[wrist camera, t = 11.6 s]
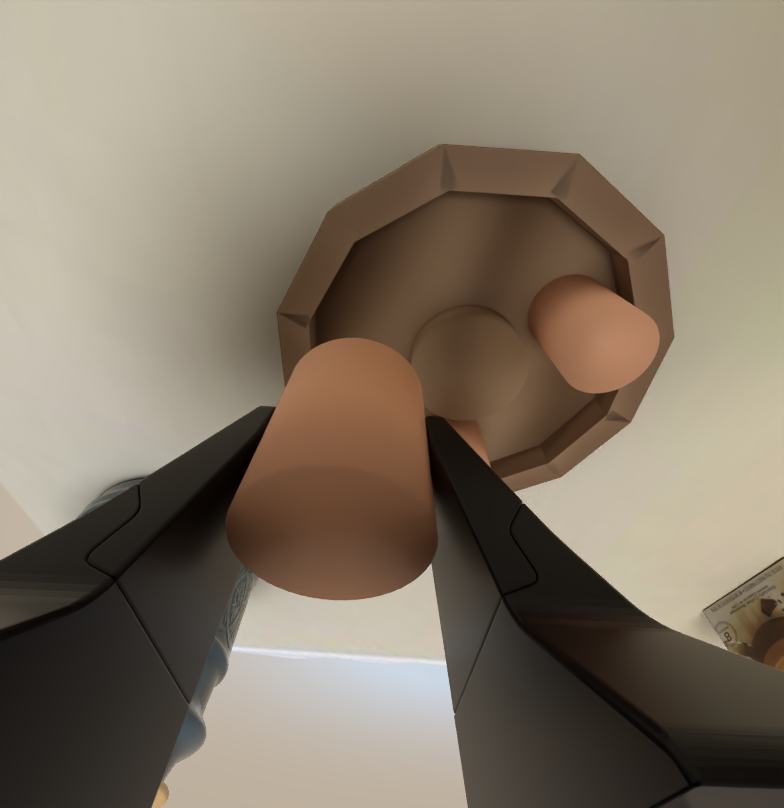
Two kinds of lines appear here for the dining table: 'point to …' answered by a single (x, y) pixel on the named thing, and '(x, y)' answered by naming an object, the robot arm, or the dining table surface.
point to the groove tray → (483, 292)
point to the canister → (214, 666)
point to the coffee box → (754, 618)
